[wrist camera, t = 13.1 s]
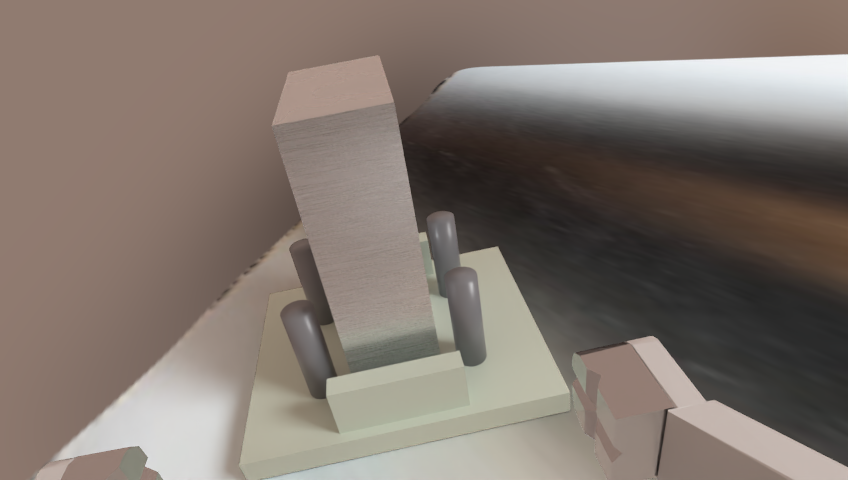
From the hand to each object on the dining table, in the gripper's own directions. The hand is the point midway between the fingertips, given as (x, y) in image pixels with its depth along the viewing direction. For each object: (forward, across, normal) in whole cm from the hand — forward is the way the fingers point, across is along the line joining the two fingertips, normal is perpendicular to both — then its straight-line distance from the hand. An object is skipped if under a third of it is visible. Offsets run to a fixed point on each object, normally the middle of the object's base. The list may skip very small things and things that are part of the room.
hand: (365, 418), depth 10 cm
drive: (+10, 0, +8) cm, 13 cm away
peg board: (+11, 0, +8) cm, 14 cm away
